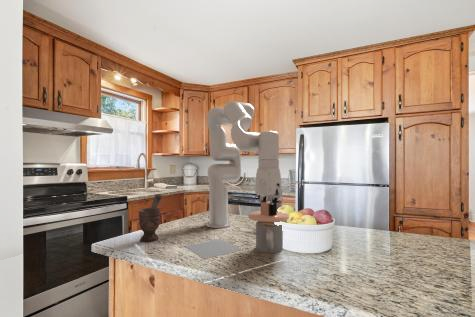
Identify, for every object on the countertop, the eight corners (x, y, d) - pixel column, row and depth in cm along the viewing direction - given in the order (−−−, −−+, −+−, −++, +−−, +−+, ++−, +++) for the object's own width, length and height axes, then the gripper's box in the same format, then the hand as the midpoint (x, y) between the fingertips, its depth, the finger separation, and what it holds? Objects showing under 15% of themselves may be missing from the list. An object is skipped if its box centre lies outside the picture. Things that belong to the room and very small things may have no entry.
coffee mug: (259, 244, 104) (259, 219, 104) (284, 247, 101) (284, 221, 101) (250, 255, 92) (250, 227, 92) (278, 259, 88) (278, 229, 88)
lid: (240, 216, 98) (240, 201, 98) (270, 211, 107) (270, 198, 107) (266, 223, 86) (266, 207, 86) (297, 218, 94) (297, 203, 94)
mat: (184, 247, 100) (184, 245, 100) (220, 240, 109) (220, 238, 109) (203, 260, 87) (203, 258, 87) (242, 251, 96) (242, 249, 96)
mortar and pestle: (170, 240, 109) (171, 192, 109) (157, 246, 101) (157, 194, 101) (148, 237, 113) (148, 191, 113) (133, 242, 105) (134, 193, 105)
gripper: (247, 164, 101) (246, 211, 101) (276, 165, 88) (276, 219, 87) (261, 164, 106) (261, 209, 105) (292, 164, 92) (292, 217, 92)
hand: (268, 213), depth 96 cm, fingers closed on lid, 4 cm apart
